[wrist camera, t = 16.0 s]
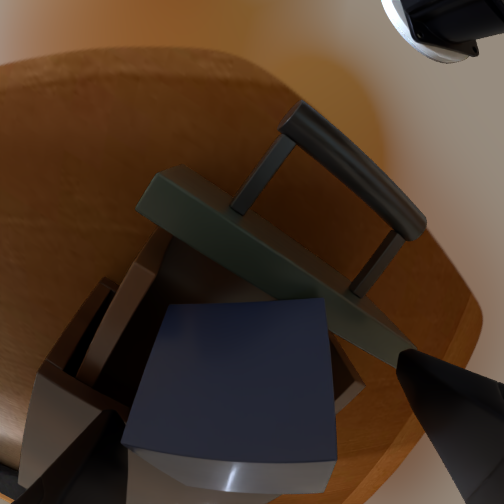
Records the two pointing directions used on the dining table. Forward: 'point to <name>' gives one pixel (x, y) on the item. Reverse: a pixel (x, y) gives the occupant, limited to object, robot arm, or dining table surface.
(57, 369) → the cabinet
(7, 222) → the dining table surface
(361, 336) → the drawer
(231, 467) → the block
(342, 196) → the dining table surface
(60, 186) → the dining table surface
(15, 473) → the black flat pad
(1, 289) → the dining table surface
